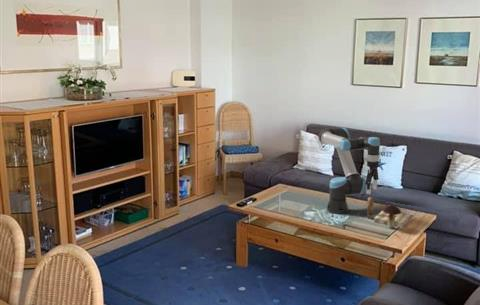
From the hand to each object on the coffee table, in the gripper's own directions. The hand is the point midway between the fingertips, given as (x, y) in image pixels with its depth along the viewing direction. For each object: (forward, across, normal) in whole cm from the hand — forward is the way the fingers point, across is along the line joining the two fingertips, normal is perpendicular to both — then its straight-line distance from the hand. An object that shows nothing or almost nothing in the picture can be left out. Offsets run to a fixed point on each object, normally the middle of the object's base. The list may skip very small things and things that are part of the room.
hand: (371, 191), depth 332 cm
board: (+18, +1, -14) cm, 23 cm away
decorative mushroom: (+19, -12, -18) cm, 29 cm away
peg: (+19, -1, 0) cm, 19 cm away
